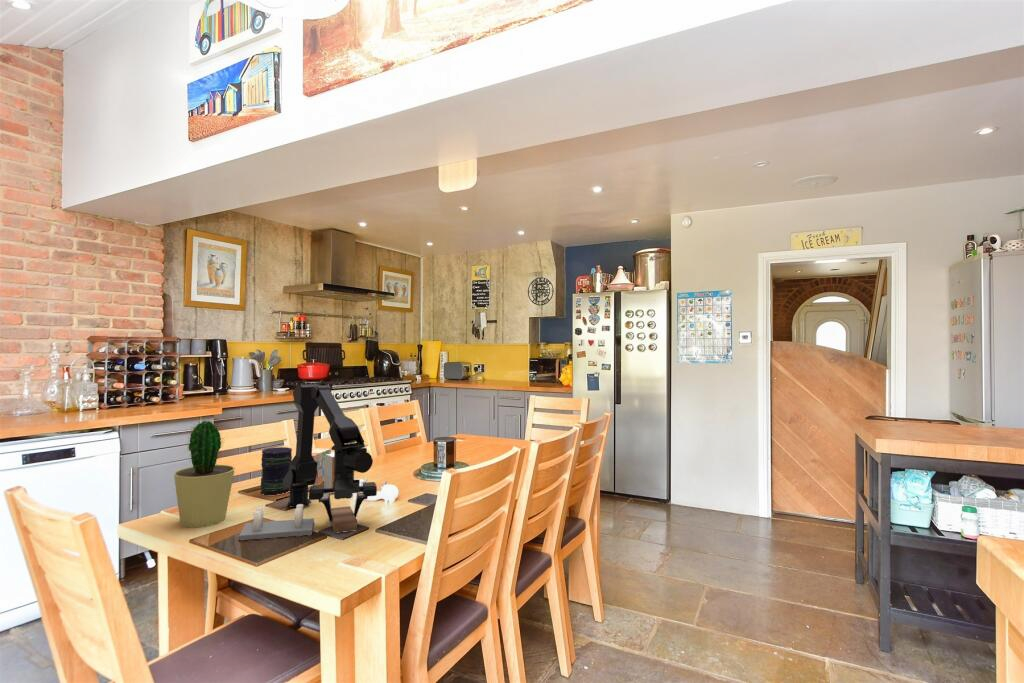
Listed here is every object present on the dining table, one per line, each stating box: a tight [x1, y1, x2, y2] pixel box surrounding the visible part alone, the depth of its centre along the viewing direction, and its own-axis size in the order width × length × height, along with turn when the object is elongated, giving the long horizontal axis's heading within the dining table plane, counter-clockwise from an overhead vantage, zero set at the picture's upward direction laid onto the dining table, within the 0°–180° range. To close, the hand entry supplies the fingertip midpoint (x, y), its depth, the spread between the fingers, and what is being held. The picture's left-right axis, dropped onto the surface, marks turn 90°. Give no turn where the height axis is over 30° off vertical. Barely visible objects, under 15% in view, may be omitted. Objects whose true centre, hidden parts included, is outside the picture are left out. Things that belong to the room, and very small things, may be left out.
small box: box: [323, 453, 334, 488], centre depth 183 cm, size 8×6×13 cm
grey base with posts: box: [238, 504, 315, 541], centre depth 141 cm, size 10×18×6 cm, turn 108°
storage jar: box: [260, 446, 293, 496], centre depth 179 cm, size 10×10×15 cm
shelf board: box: [329, 505, 358, 534], centre depth 148 cm, size 14×6×3 cm, turn 26°
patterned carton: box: [312, 447, 335, 485], centre depth 196 cm, size 21×6×12 cm, turn 171°
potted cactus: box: [173, 420, 236, 528], centre depth 148 cm, size 15×15×30 cm
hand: (342, 520), depth 148 cm, fingers closed on shelf board, 6 cm apart
